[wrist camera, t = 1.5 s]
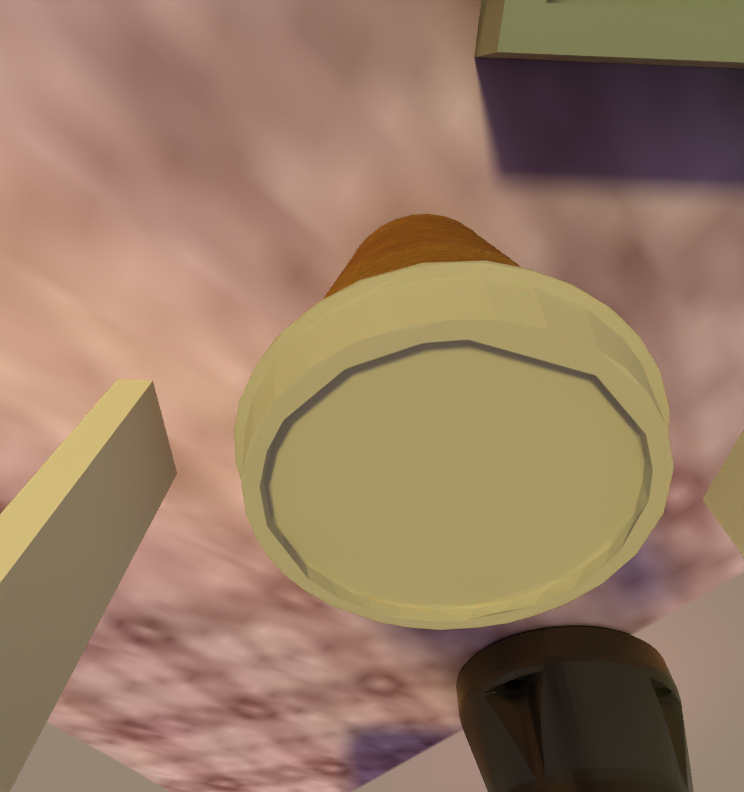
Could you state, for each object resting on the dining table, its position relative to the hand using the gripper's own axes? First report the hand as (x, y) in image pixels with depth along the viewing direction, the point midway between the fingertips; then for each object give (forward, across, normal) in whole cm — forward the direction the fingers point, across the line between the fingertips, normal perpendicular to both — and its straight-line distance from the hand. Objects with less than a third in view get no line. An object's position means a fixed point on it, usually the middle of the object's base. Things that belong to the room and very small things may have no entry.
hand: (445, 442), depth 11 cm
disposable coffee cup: (+10, 0, +1) cm, 11 cm away
